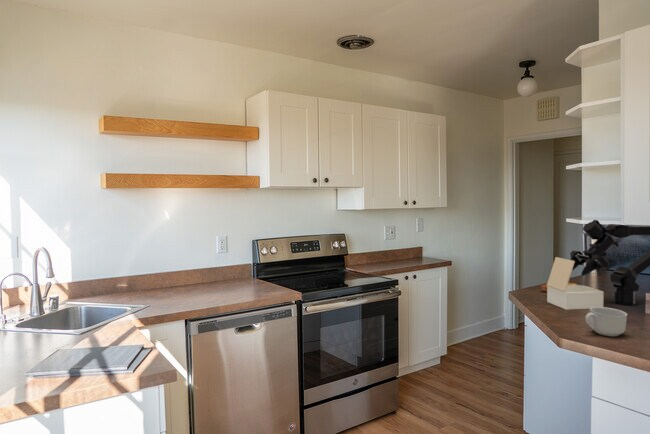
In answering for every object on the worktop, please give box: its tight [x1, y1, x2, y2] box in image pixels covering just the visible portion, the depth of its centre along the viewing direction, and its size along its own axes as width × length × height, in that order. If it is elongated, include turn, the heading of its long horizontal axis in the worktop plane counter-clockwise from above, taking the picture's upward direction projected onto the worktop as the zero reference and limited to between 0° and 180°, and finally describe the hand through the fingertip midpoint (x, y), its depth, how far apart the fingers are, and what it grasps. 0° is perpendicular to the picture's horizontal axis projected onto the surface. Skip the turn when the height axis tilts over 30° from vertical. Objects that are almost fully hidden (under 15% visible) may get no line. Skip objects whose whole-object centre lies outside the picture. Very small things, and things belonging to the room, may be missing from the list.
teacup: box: [584, 306, 628, 337], centre depth 152 cm, size 14×11×8 cm
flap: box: [547, 256, 575, 291], centre depth 192 cm, size 13×13×1 cm
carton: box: [546, 284, 604, 311], centre depth 193 cm, size 16×15×7 cm
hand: (575, 273), depth 193 cm, fingers open, 9 cm apart
